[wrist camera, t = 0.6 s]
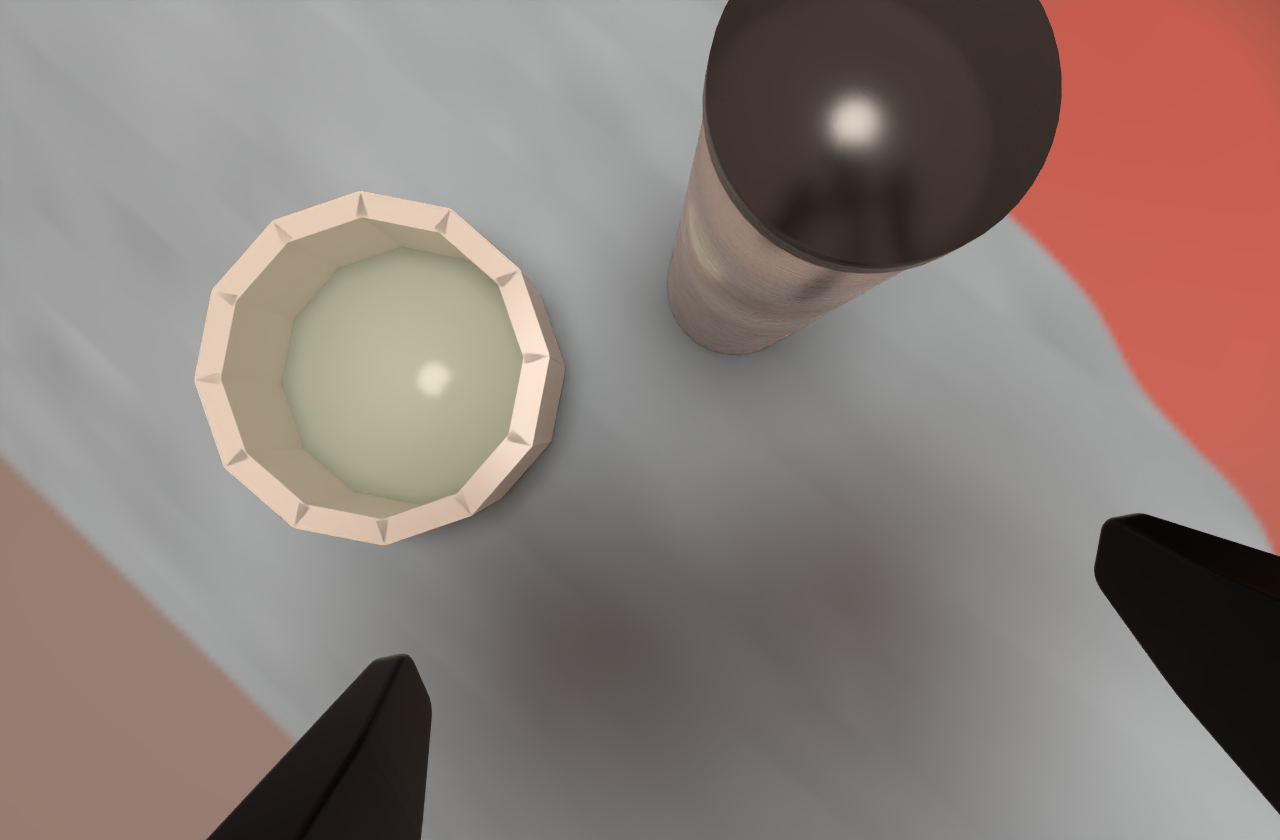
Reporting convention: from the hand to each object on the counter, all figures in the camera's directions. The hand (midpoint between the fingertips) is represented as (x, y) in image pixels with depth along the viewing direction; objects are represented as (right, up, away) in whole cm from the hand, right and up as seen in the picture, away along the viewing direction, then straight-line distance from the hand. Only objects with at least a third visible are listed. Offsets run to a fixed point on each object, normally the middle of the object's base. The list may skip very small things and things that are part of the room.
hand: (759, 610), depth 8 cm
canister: (+2, +7, +13) cm, 15 cm away
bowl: (-9, +4, +13) cm, 16 cm away
